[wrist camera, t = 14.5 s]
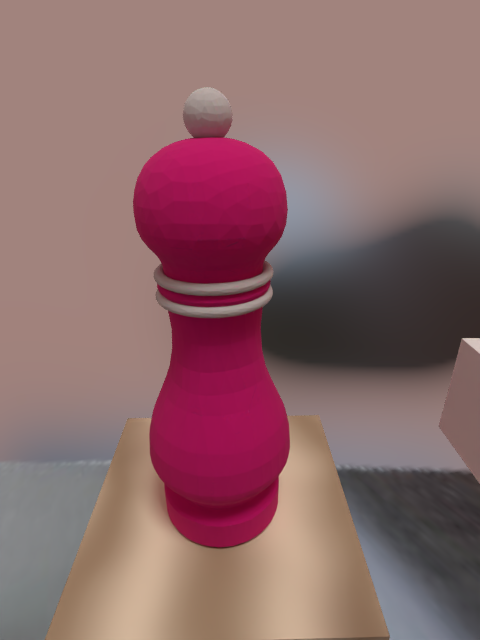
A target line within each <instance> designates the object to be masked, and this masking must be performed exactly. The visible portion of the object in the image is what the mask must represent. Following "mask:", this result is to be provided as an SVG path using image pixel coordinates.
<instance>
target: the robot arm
mask: <svg viewBox="0 0 480 640" xmlns="http://www.w3.org/2000/svg"><path fill="white" fill-rule="evenodd" d="M439 427H440V429H441V430H442V432H443V433H444V434H445V436H446V437H447V439H448V440H449V441H450V443H451V444H452V446H453V447H454V448H455V450H456V451H457V453H458V454H459V455H460V457H461V458H462V460H463V461H464V462H465V464H466V465H467V467H468V468H469V469H470V471H471V472H472V474H473V475H474V476H475V478H476V479H477V481H478V482H479V483H480V338H467V339H466V338H462V341H461V344H460V348H459V352H458V356H457V359H456V363H455V367H454V371H453V374H452V378H451V382H450V386H449V389H448V393H447V397H446V400H445V404H444V408H443V412H442V416H441V419H440V423H439Z"/></svg>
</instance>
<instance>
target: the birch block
mask: <svg viewBox="0 0 480 640" xmlns="http://www.w3.org/2000/svg"><path fill="white" fill-rule="evenodd" d="M287 418H288V421H289V432H290V451H289V456H288V459H287V463H286V465H285V467H284V468H283V470H282V472H281V473H280V475H279V490H278V505H277V509H276V512H275V515H274V517H273V519H272V521H271V522H270V523H269V525H268V526H267V527H266V528H265V529H264V530H263V531H262V532H261V533H260V534H258V535H257V536H255V537H254V538H252V539H250V540H249V541H247V542H244V543H241V544H238V545H235V546H228V547H220V548H219V547H212V546H205V545H201V544H199V543H196V542H194V541H192V540H190V539H188V538H186V537H185V536H184V535H183V534H181V533H180V532H179V531H178V530H177V528H176V527H175V526H174V525H173V523H172V522H171V519H170V517H169V515H168V511H167V505H166V497H165V489H164V482H163V481H162V480H161V479H160V478H159V476H158V474H157V473H156V471H155V469H154V467H153V464H152V461H151V457H150V439H149V432H150V424H151V419H152V418H128V419H127V422H126V424H125V427H124V430H123V432H122V435H121V438H120V440H119V443H118V446H117V448H116V451H115V454H114V457H113V459H112V462H111V464H110V467H109V470H108V472H107V475H106V478H105V480H104V483H103V486H102V488H101V491H100V494H99V496H98V499H97V502H96V504H95V507H94V510H93V512H92V515H91V518H90V520H89V523H88V526H87V528H86V531H85V534H84V536H83V539H82V542H81V544H80V547H79V550H78V552H77V555H76V558H75V560H74V563H73V566H72V568H71V571H70V574H69V576H68V579H67V582H66V584H65V587H64V590H63V592H62V595H61V598H60V600H59V603H58V606H57V609H56V611H55V614H54V617H53V619H52V622H51V625H50V627H49V630H48V633H47V635H46V638H45V640H389V638H390V635H389V632H388V629H387V626H386V623H385V620H384V617H383V614H382V611H381V607H380V604H379V601H378V598H377V595H376V592H375V589H374V586H373V582H372V579H371V576H370V573H369V570H368V567H367V564H366V561H365V558H364V554H363V551H362V548H361V545H360V542H359V539H358V536H357V533H356V530H355V526H354V523H353V520H352V517H351V514H350V511H349V508H348V505H347V502H346V498H345V495H344V492H343V489H342V486H341V483H340V480H339V477H338V474H337V470H336V467H335V464H334V461H333V458H332V455H331V452H330V449H329V446H328V442H327V439H326V436H325V433H324V430H323V427H322V424H321V421H320V417H319V416H318V415H309V416H287Z"/></svg>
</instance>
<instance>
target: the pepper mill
mask: <svg viewBox="0 0 480 640" xmlns="http://www.w3.org/2000/svg"><path fill="white" fill-rule="evenodd" d="M183 119H184V123H185V126H186V128H187V130H188V132H189V133H190V134H191V135H192V136H193V137H194V138H190V139H185V140H181V141H178V142H174V143H172V144H170V145H168V146H166V147H164V148H162V149H161V150H160V151H158V152H157V153H156V154H154V155H153V156H152V157H151V158H150V159H149V160H148V161H147V163H146V164H145V165H144V167H143V169H142V170H141V173H140V174H139V176H138V179H137V182H136V186H135V190H134V199H133V208H134V217H135V222H136V228H137V231H138V233H139V235H140V237H141V239H142V240H143V241H144V243H145V244H146V245H147V246H148V248H149V249H151V250H152V251H153V252H154V253H155V254H156V255H157V256H158V258H159V259H160V261H161V263H162V264H160V265H159V266H158V267H157V268H156V269H155V271H154V279H155V281H156V282H157V288H158V290H157V292H156V300H157V301H158V303H159V304H160V305H161V306H162V307H163V308H164V309H166V310H168V313H169V317H170V322H171V327H172V354H171V361H170V366H169V369H168V372H167V376H166V378H165V381H164V383H163V386H162V389H161V391H160V393H159V396H158V399H157V401H156V404H155V407H154V410H153V415H152V419H151V424H150V432H149V439H150V457H151V461H152V464H153V467H154V469H155V471H156V473H157V474H158V476H159V478H160V479H161V480H162V481H163V482H164V489H165V497H166V505H167V511H168V515H169V517H170V519H171V522H172V523H173V525H174V526H175V527H176V528H177V530H178V531H179V532H180V533H181V534H183V535H184V536H185V537H186V538H188V539H190V540H192V541H194V542H196V543H199V544H201V545H205V546H212V547H219V548H220V547H228V546H235V545H238V544H241V543H244V542H247V541H249V540H250V539H252V538H254V537H255V536H257V535H258V534H260V533H261V532H262V531H263V530H264V529H265V528H266V527H267V526H268V525H269V523H270V522H271V521H272V519H273V517H274V515H275V512H276V509H277V505H278V490H279V475H280V473H281V472H282V470H283V468H284V467H285V465H286V463H287V459H288V456H289V451H290V432H289V421H288V418H287V414H286V411H285V407H284V404H283V402H282V400H281V398H280V395H279V394H278V392H277V390H276V387H275V386H274V383H273V381H272V379H271V377H270V375H269V372H268V370H267V368H266V365H265V361H264V357H263V352H262V345H261V328H260V326H261V316H262V307H263V306H264V305H266V304H267V303H268V302H269V300H270V299H271V297H272V295H273V291H272V288H271V285H270V279H271V277H272V276H273V269H272V267H271V265H270V264H269V263H268V262H266V261H265V257H266V256H267V255H268V253H269V252H270V251H271V250H272V249H273V247H274V246H275V245H276V244H277V243H278V241H279V240H280V238H281V236H282V234H283V231H284V228H285V225H286V219H287V210H288V209H287V199H286V191H285V187H284V184H283V180H282V177H281V175H280V173H279V171H278V170H277V168H276V167H275V165H274V163H273V162H272V161H271V160H270V159H269V158H268V157H267V156H266V155H265V154H264V153H263V152H261V151H260V150H258V149H257V148H255V147H253V146H251V145H249V144H247V143H245V142H242V141H238V140H235V139H230V138H223V137H224V136H225V135H226V134H227V132H228V131H229V128H230V126H231V123H232V110H231V106H230V104H229V102H228V100H227V99H226V97H225V96H224V95H223V94H222V93H221V92H219V91H218V90H216V89H213V88H200V89H198V90H196V91H194V92H193V93H192V94H191V95H190V96H189V97H188V99H187V101H186V103H185V105H184V110H183Z"/></svg>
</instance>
